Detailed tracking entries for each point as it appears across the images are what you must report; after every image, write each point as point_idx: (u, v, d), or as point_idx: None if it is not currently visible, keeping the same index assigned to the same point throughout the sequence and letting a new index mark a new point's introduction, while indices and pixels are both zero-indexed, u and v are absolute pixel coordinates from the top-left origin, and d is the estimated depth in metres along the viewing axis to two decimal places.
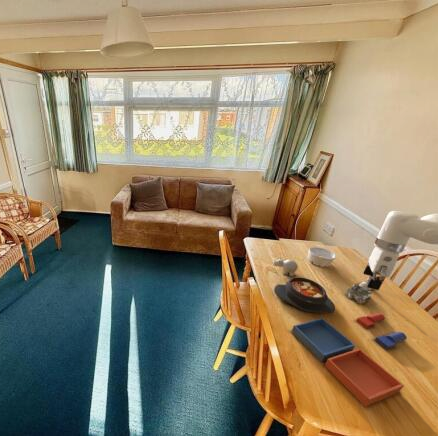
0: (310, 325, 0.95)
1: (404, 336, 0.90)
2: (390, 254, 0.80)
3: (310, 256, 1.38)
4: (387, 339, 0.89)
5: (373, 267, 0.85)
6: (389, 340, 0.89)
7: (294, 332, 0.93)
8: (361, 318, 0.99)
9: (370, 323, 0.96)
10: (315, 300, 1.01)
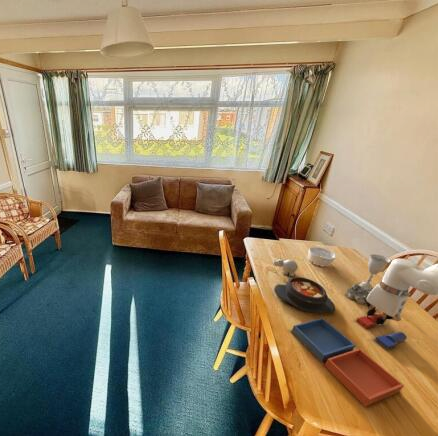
0: (310, 325, 0.95)
1: (404, 336, 0.90)
2: (405, 299, 0.89)
3: (310, 256, 1.38)
4: (387, 339, 0.89)
5: (390, 312, 0.92)
6: (389, 340, 0.89)
7: (294, 332, 0.93)
8: (361, 318, 0.99)
9: (370, 323, 0.96)
10: (315, 300, 1.01)
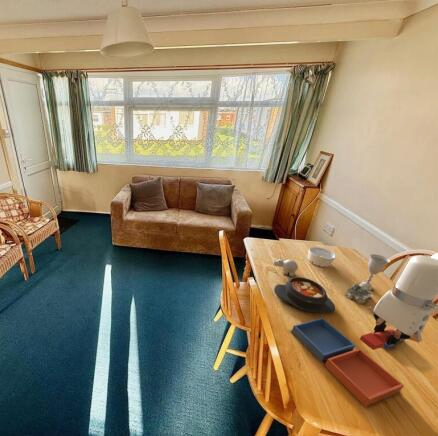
0: (310, 325, 0.95)
1: None
2: (428, 312, 0.64)
3: (310, 256, 1.38)
4: None
5: (407, 329, 0.67)
6: None
7: (294, 332, 0.93)
8: (366, 336, 0.74)
9: (379, 343, 0.71)
10: (315, 300, 1.01)
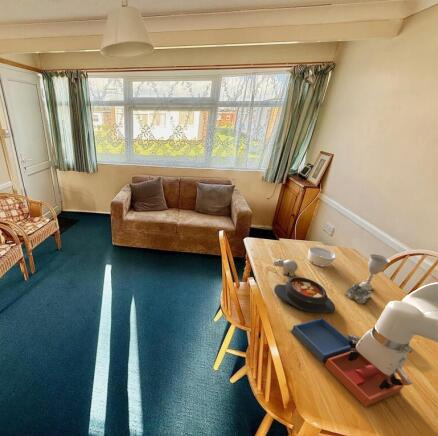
0: (310, 325, 0.95)
1: None
2: (404, 355, 0.67)
3: (310, 256, 1.38)
4: None
5: (386, 369, 0.70)
6: None
7: (294, 332, 0.93)
8: (348, 372, 0.77)
9: (359, 381, 0.75)
10: (315, 300, 1.01)
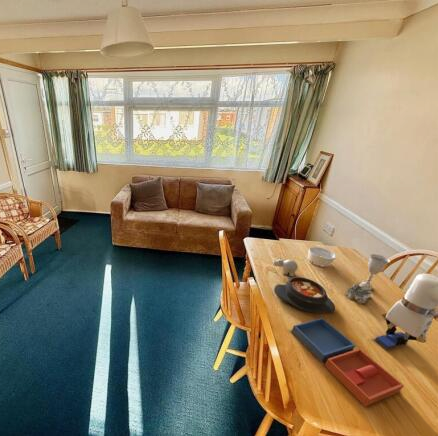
0: (310, 325, 0.95)
1: None
2: (431, 318, 0.80)
3: (310, 256, 1.38)
4: (387, 339, 0.89)
5: (414, 332, 0.83)
6: (389, 340, 0.89)
7: (294, 332, 0.93)
8: (348, 372, 0.77)
9: (359, 381, 0.75)
10: (315, 300, 1.01)
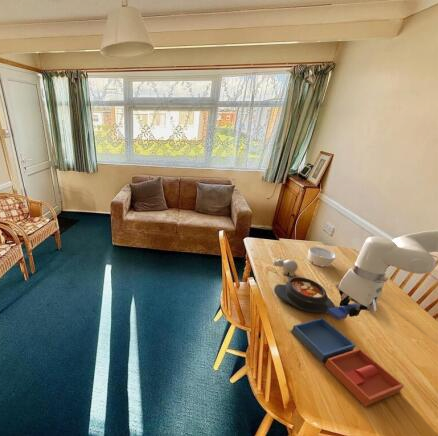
0: (310, 325, 0.95)
1: None
2: (381, 285, 0.74)
3: (310, 256, 1.38)
4: (339, 310, 0.83)
5: (364, 300, 0.77)
6: (341, 311, 0.83)
7: (294, 332, 0.93)
8: (348, 372, 0.77)
9: (359, 381, 0.75)
10: (315, 300, 1.01)
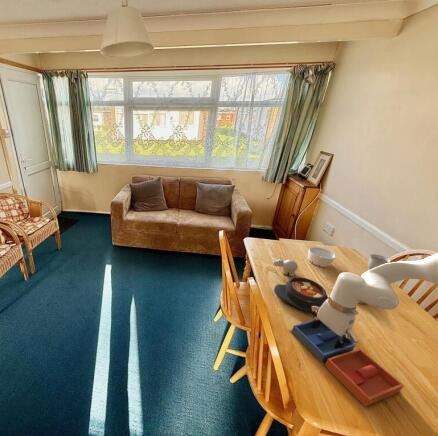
0: (310, 325, 0.95)
1: (334, 335, 0.89)
2: (352, 317, 0.80)
3: (310, 256, 1.38)
4: (316, 338, 0.89)
5: (339, 331, 0.83)
6: (318, 339, 0.89)
7: (294, 332, 0.93)
8: (348, 372, 0.77)
9: (359, 381, 0.75)
10: (315, 300, 1.01)
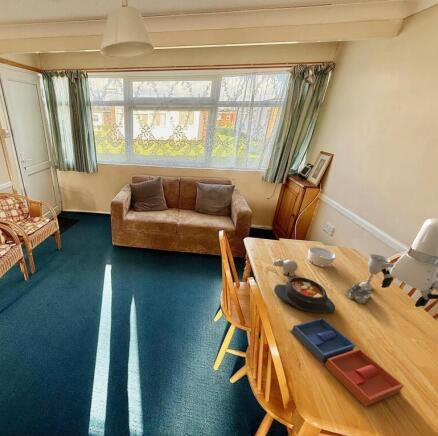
0: (310, 325, 0.95)
1: (334, 335, 0.89)
2: None
3: (310, 256, 1.38)
4: (316, 338, 0.89)
5: (422, 285, 0.74)
6: (318, 339, 0.89)
7: (294, 332, 0.93)
8: (348, 372, 0.77)
9: (359, 381, 0.75)
10: (315, 300, 1.01)
